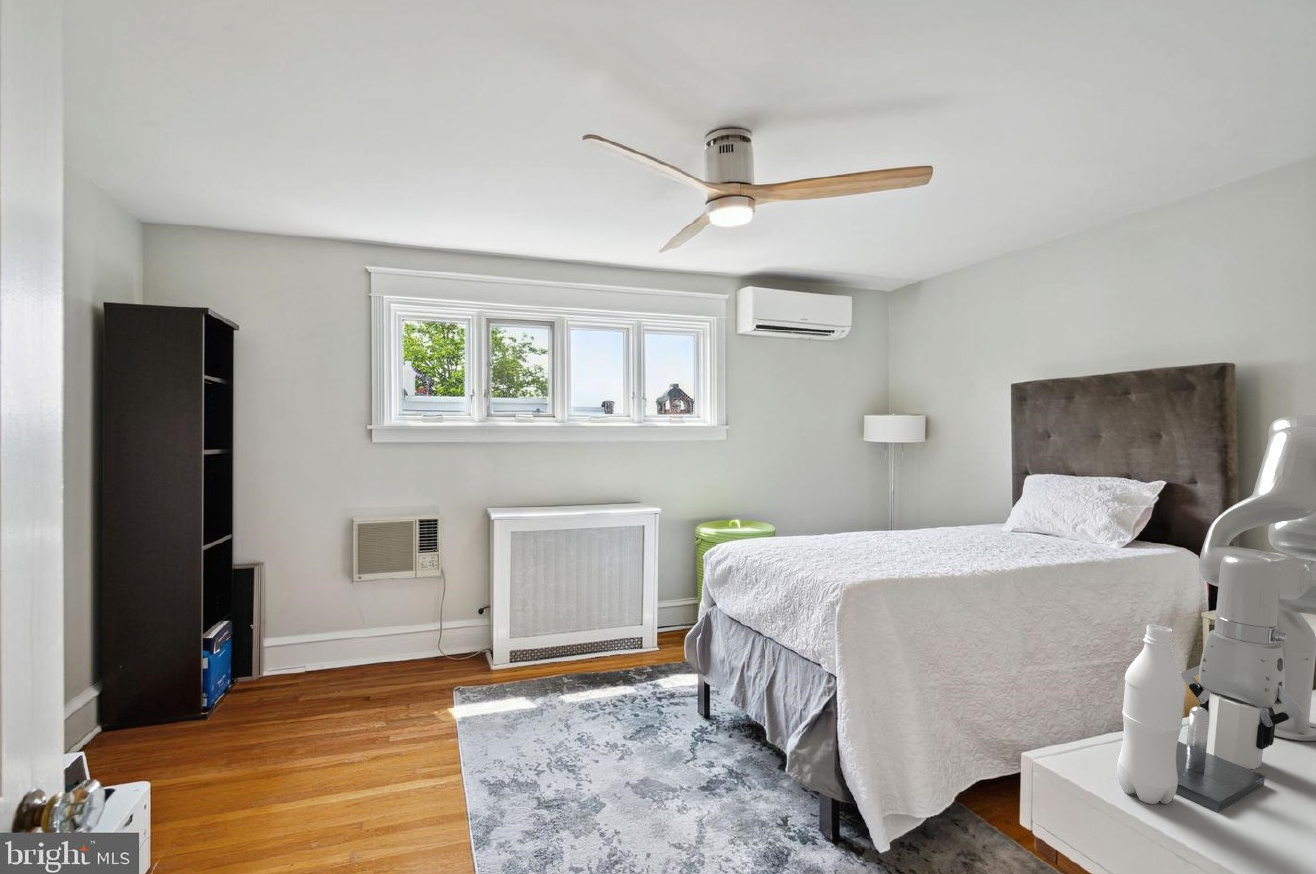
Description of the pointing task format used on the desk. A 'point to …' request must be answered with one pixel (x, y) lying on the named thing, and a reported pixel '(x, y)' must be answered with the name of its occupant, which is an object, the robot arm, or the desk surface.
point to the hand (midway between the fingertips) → (1234, 735)
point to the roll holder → (1210, 769)
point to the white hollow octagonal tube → (1234, 731)
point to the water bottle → (1152, 720)
